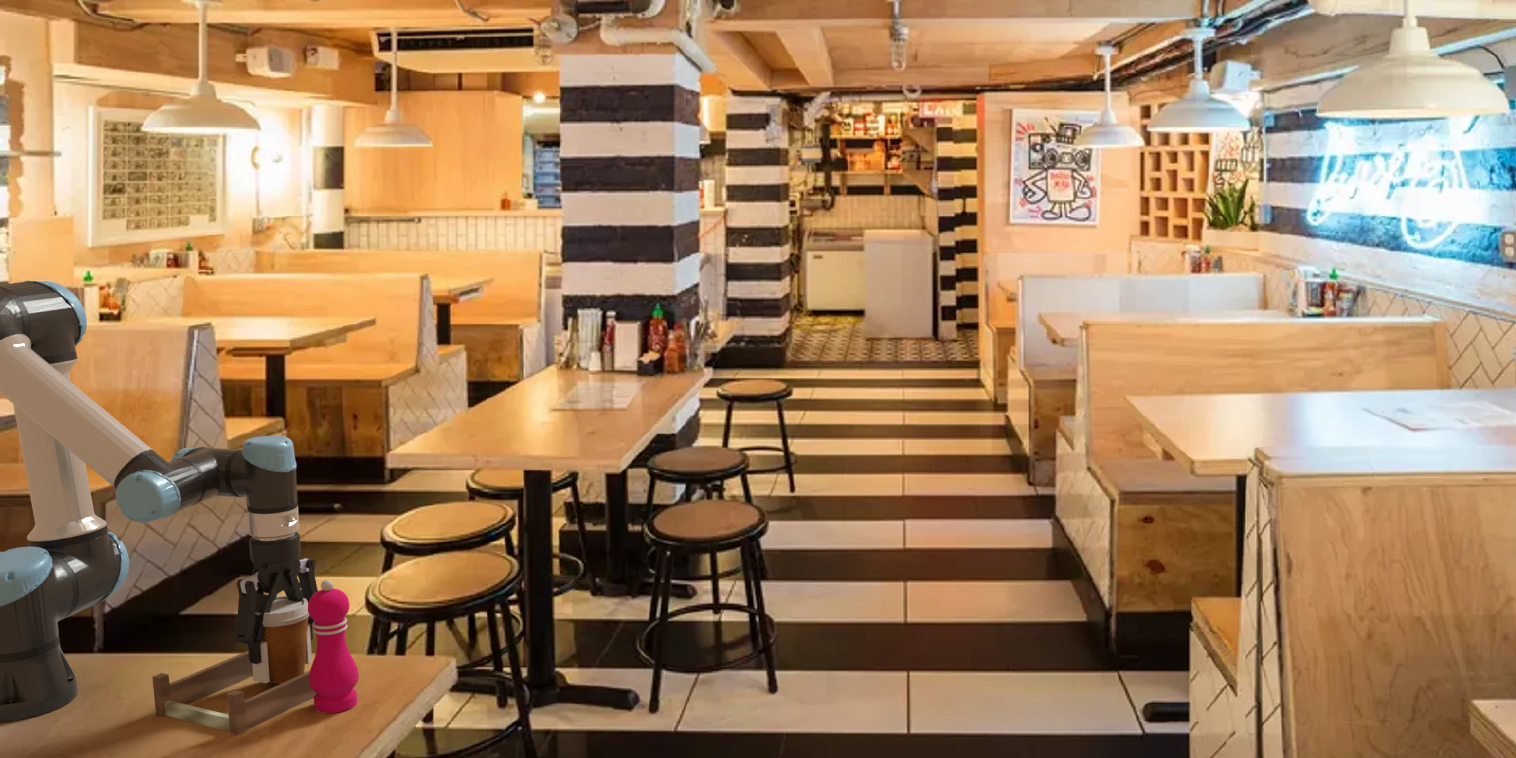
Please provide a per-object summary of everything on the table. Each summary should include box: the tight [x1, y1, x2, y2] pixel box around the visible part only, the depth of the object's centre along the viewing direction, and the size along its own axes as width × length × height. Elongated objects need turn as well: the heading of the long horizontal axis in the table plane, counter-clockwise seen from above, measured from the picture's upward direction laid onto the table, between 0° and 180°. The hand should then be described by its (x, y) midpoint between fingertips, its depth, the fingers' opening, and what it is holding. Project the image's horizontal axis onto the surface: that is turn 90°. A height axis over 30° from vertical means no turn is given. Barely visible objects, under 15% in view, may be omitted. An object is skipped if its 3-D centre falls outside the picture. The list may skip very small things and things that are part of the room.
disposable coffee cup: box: [254, 595, 309, 684], centre depth 202 cm, size 10×10×12 cm
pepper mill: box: [308, 579, 360, 714], centre depth 192 cm, size 7×7×20 cm
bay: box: [151, 650, 317, 736], centre depth 196 cm, size 18×20×6 cm
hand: (283, 671), depth 202 cm, fingers closed on disposable coffee cup, 8 cm apart
